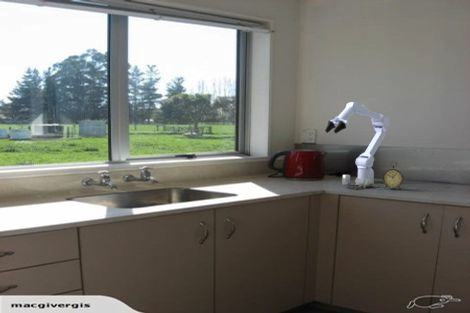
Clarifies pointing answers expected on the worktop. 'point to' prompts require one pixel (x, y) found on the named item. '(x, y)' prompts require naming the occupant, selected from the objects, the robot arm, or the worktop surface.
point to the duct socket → (361, 183)
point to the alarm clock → (393, 177)
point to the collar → (345, 179)
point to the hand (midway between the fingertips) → (330, 131)
